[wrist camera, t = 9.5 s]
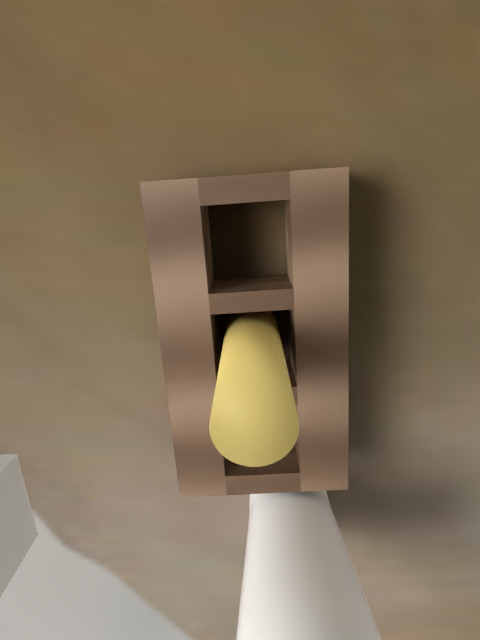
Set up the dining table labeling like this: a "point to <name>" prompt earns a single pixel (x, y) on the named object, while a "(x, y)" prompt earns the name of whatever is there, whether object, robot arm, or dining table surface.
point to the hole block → (254, 296)
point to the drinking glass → (300, 574)
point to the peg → (253, 393)
